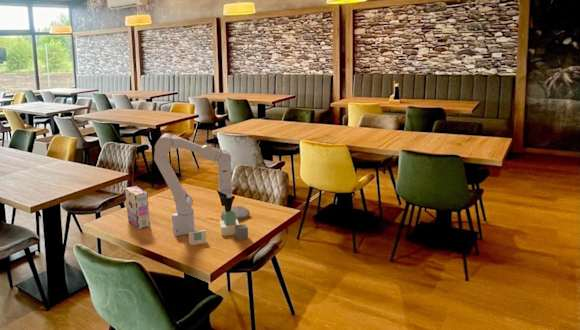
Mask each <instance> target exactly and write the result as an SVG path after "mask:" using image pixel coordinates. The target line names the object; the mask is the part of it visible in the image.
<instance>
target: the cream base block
mask: <svg viewBox="0 0 580 330" xmlns="http://www.w3.org/2000/svg"><path fill="white" fill-rule="evenodd" d="M235 225H240V223H239V220H238V219H237V220H236V224H235ZM235 225H228V226H226V225H225V224H224V220H219V229H220V236H222V237H223V236H231V235H234V236H235Z"/></svg>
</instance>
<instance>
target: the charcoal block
mask: <svg viewBox="0 0 580 330" xmlns="http://www.w3.org/2000/svg"><path fill="white" fill-rule="evenodd" d="M234 236H235V238H236V240H238V241H243V240H248V239H249V227H248V226H247V225H246V224H245V223H243V224H239V225H235V234H234Z"/></svg>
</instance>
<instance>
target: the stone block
mask: <svg viewBox="0 0 580 330" xmlns="http://www.w3.org/2000/svg"><path fill="white" fill-rule="evenodd" d="M231 210H233V211H234V213H235V218H236V220H237V219H238V221H240V220H244V219H247V218H249V217H250V210H249V209H248V208H246V207H245V206H242V205H234V206H233V205H232V207H231ZM224 211H225V210H222V211H221V215H220V217H221V219H222V220H223V212H224Z"/></svg>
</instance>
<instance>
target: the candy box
mask: <svg viewBox="0 0 580 330" xmlns="http://www.w3.org/2000/svg"><path fill="white" fill-rule="evenodd" d="M124 194H125V202H126V211H127V219H128V222H129V223H130V224H131V225H132V226H134V227H135V228H136V229H138V230H142V229H145V228H150V227H151V221H150V212H149V211H150V210H149V209H150V208H149V199H148V198H149V196H148V192H147V191H145V190H144V189H142V188H141V187H139V186H137V185H135V186H129V187H124Z"/></svg>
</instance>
